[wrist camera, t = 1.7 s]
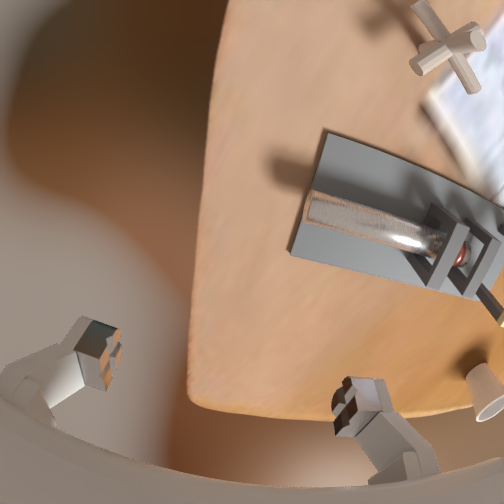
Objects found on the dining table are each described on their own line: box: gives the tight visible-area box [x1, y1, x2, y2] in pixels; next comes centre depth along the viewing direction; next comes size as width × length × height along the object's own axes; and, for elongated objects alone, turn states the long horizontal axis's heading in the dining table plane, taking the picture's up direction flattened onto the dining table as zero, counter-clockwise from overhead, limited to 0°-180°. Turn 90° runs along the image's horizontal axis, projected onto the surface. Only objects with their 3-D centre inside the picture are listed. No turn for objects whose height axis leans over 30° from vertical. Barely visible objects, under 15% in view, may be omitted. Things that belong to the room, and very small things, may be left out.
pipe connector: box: [409, 0, 486, 94], centre depth 18 cm, size 10×10×10 cm
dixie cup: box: [466, 363, 504, 422], centre depth 40 cm, size 8×8×10 cm
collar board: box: [290, 133, 504, 327], centre depth 28 cm, size 14×32×10 cm, turn 77°
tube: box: [303, 189, 471, 268], centre depth 29 cm, size 4×20×4 cm, turn 77°
